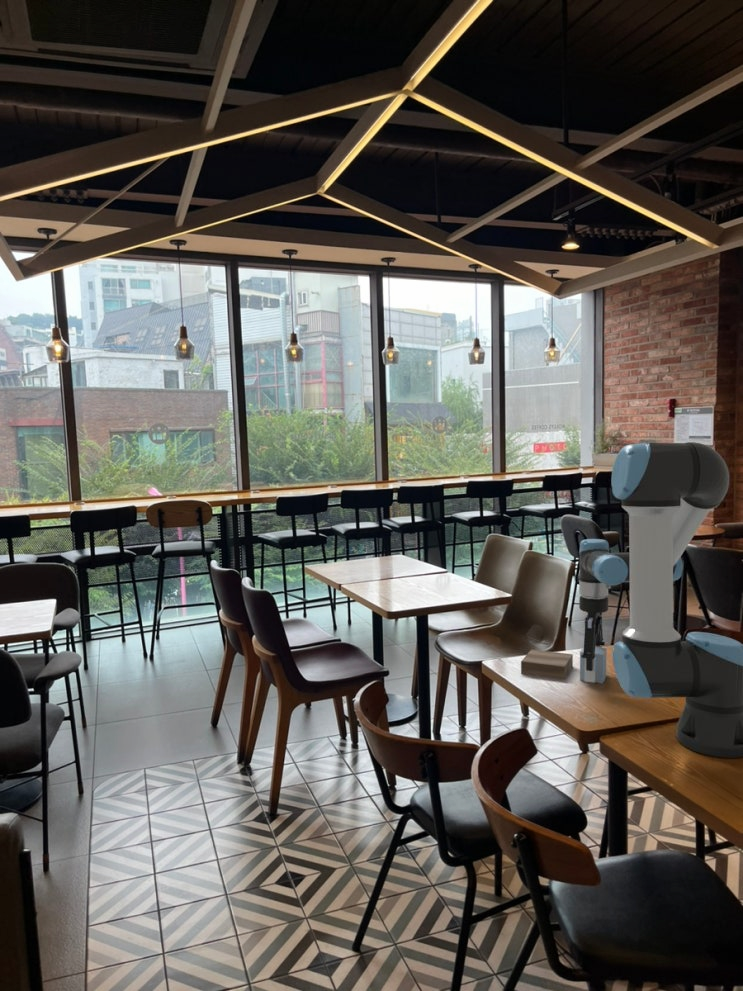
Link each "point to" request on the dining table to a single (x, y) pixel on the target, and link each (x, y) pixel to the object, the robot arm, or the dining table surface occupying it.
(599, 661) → the slate block
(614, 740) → the dining table surface
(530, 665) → the walnut block
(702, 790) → the dining table surface
